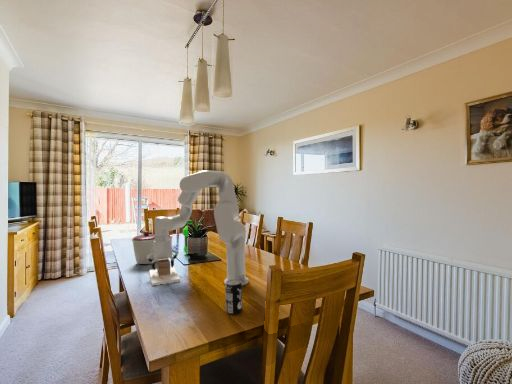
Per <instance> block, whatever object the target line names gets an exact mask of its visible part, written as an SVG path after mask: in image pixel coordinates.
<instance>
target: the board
mask: <svg viewBox="0 0 512 384" xmlns="http://www.w3.org/2000/svg"><path fill="white" fill-rule="evenodd" d="M148 272H149V273H150V274H149V277H150V278H151V279H150V278H149V279H150V283H152V284H151V287H154V286H153V285H157V286H161V285H160V284H163V285H167V284H166V283H169V284H174V282H175V283H179V282H180V283H181V277H180V276H179V273H178V272H177V270H176V268H175V266H173V268H172V267H171V266H170V275H164V276H159V275H158V272H157V268H155V270H153V269H149V270H148Z"/></svg>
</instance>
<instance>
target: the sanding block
mask: <svg viewBox="0 0 512 384" xmlns="http://www.w3.org/2000/svg"><path fill="white" fill-rule="evenodd" d="M169 259H170V258H165V259H157V262H156V269H157V272H158V275H159V276H164V275H170V267H171V260H169Z"/></svg>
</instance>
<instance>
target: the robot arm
mask: <svg viewBox="0 0 512 384" xmlns="http://www.w3.org/2000/svg"><path fill="white" fill-rule="evenodd" d="M214 187H215V188H218V192H217V193H218V194H217V195H218V198H219V202H218V203H217V204H216V205H215V207H214V209H213V217H214V221H215V222H214V223H215V226H216V231H217V235H218V237H219V239H220V241H221V242H222V243H224V244H226V246H225V247H226V248H225V249H226V250H225V251H226V254H225V255H226V278H225V279H224V280H223V283H224V284H225V285H226V282H227V281H228V280H232V279H237V280H240V281H241V284H242V287H243V286H245V285H247V284H248V283H249V281H250V280H249V278H248V277H247V276H246V234H247V233H246V232H247V230H246V226H245V224H244V222H242V221H239V220H235V218H237V217H238V216H239V214H240V208H239V204H238V200H237V199H238V198H237V196H236V192H235V186H234V183H233V180H232V178H231V176H230V175H229V174H227V173H226V172H224V171H219V170H207V169H206V170H201V171H198V172H195V173H191V174H188V175H184V176H183V178H181V179H180V182H179V189H180V190H181V192H180V193H179V195H178V197H177V201H178V203H179V204H180V209H179V212H178V213H177V214H176V215H172V216H162V215H160V216H155V217H154V222H153V223H154V234H155V241H154V243H153V252H151V253H150V254H148V255H146V257H147V259H148V260H149V261H150V262H151V263H152V264H151V270H155V269H156V264H155V263H156V262H155V260H156V259H165V258H168V259H170V267H172V268H173V267H175V259H177V257H178V255H179V251H178V250H175V249H173V247H172V241H171V239H172V236H173V235H170V232H172V231H174V230H178V229H181V228H183V227H185V226H186V224H187V221H188V220H190V218H191V216H192V212H193V205H194V203H195V202H196V200H197V198H198V196H199V195H200V193H201V191H202V190H203V189H207V188H214ZM173 253H174V255H173ZM151 255H153V257H154V258H153V259H151V258H150V256H151Z"/></svg>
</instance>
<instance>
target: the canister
mask: <svg viewBox="0 0 512 384" xmlns="http://www.w3.org/2000/svg"><path fill="white" fill-rule="evenodd" d="M154 241H155V233H151V234H150V232H149V231H148V230H144V231H143V234H140V235H137V236H134V237H132V239H131V242H132V247H133V252H134V257H135V262H136V263H137V264H138V265H140V264H148V265H152V263H151V262H150V261H149V260H148V259H147V257H146V255H148V254H150V253H151V252H153V243H154ZM150 258H151V259H153V258H154V257H153V255H151V256H150ZM155 263H157V259H156V260H155Z"/></svg>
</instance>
